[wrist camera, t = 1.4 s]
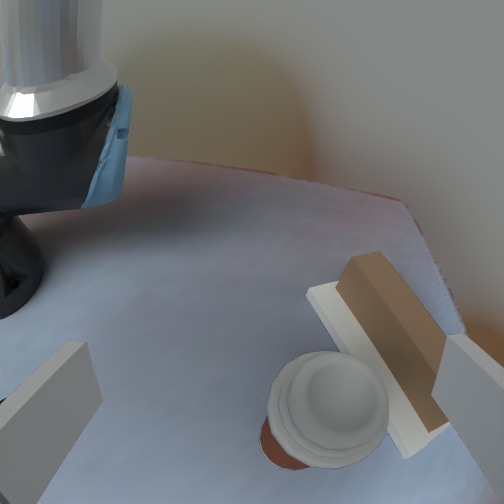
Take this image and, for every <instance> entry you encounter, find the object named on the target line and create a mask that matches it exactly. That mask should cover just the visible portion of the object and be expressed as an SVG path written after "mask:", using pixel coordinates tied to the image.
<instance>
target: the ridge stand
mask: <svg viewBox="0 0 504 504" xmlns="http://www.w3.org/2000/svg"><path fill="white" fill-rule="evenodd" d="M306 297H307V299H308V300H309V302H310V303H311V305H312V307H313V308H314V310H315V311H316V313H317V315H318V316H319V318H320V320H321V321H322V323H323V324H324V326H325V328H326V329H327V331H328V333H329V334H330V336H331V337H332V339H333V341H334V342H335V344H336V346H337V347H338V349H339V351H340V352H341V353H346V354H351V355H355V356H356V357H358V358H360V359H361V360H363V361H365V362H367V363H368V364H370V365H371V366H372V368H373V369H374V370H375V371H376V372H377V373H378V374H379V376H380V377H381V378H382V380H383V382H384V385H385V387H386V390H387V392H388V397H389V425H388V427H387V431H388V433H389V434H390V436H391V438H392V440H393V441H394V443H395V445H396V446H397V448H398V450H399V452H400V453H401V455H402V457H403V459H407V458H409V457H411V456H413V455H414V454H415V453H417V452H418V451H419V450H421V449H422V448H423V447H424V446H426V445H427V444H428V443H429V442H430V441H432V440H433V439H434V438H435V437H436V436H438V435H439V434H440V433H441V432H442V431H443V430H444V429H446V428H447V427H448V426H449V425H450V424H451V423H450V421H449V420H448V418H447V417H446V416H445V414H444V413H443V411H442V410H441V408H440V407H439V406H438V404H437V403H436V401H435V400H434V399H433V397H432V396H431V394H432V391H433V387H434V384H435V381H436V377H437V374H438V370H439V367H440V363H441V359H442V355H443V351H444V347H445V343H446V339H447V337H446V335H445V334H444V332H443V331H442V330H441V328H440V327H439V326H438V324H437V323H436V322H435V320H434V319H433V317H432V316H431V315H430V313H429V312H428V311H427V309H426V308H425V307H424V306H423V304H422V303H421V302H420V300H419V299H418V298H417V296H416V295H415V294H414V293H413V291H412V290H411V289H410V288H409V286H408V285H407V284H406V283H405V281H404V280H403V279H402V278H401V276H400V275H399V274H398V273H397V271H396V270H395V269H394V268H393V267H392V265H391V264H390V263H389V262H388V261H387V259H386V258H385V257H384V256H383V255H382V253H381V252H380V251H379V252H374V253H369V254H365V255H360V256H355V257H351V259H350V261H349V262H348V264H347V266H346V268H345V270H344V272H343V274H342V276H341V278H340V280H339V281H335V282H331V283H327V284H323V285H319V286H315V287H311V288H309V289H308V291H307V294H306Z"/></svg>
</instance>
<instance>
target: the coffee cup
mask: <svg viewBox="0 0 504 504" xmlns="http://www.w3.org/2000/svg"><path fill="white" fill-rule="evenodd" d="M266 412H267V417H266V420H265V422H264V424H263V426H262V428H261V431H260V436H259V444H260V449H261V453H262V454H263V455H264V457H265V458H266V459H267V461H268V462H269V463H271V464H272V465H274V466H276V467H278V468H279V469H283V470H290V471H296V470H300V469H304V468H308V467H316V468H326V469H339V468H342V467H345V466H348V465H351V464H354V463H357V462H360V461H362V460H364V459H365V458H366V457H367V456H368V455H369V454H370V453H371V452H373V451H374V450H375V449H376V448H377V447H378V446H379V445H380V443H381V441H382V439H383V436H384V434H385V432H386V429H387V427H388V425H389V397H388V392H387V390H386V387H385V385H384V382H383V380H382V378H381V377H380V376H379V374H378V373H377V372H376V371H375V370H374V369H373V368H372V366H371V365H370V364H368V363H367V362H365V361H363V360H361V359H360V358H358V357H356V356H355V355H351V354H346V353H341V352H332V351H327V350H326V351H319V352H312V353H305V354H303V355H301V356H300V357H298V358H296V359H294V360H293V361H291V362H289V363H287V364H286V365H285V366H284V367H283V369H282V370H281V371H280V373H279V374H278V376H277V377H276V378H275V380H274V381H273V382H272V384H271V386H270V390H269V395H268V400H267V405H266Z"/></svg>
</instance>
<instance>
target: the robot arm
mask: <svg viewBox="0 0 504 504" xmlns="http://www.w3.org/2000/svg"><path fill="white" fill-rule="evenodd" d="M102 9H103V0H0V36H1V48H2V57H3V66H4V73H5V83H4V85H3V86H2V88H1V90H0V319H1V318H3V317H5V316H7V315H9V314H11V313H13V312H14V311H16V310H17V309H18V308H20V307H21V306H22V305H23V304H24V303H25V302H26V301H27V300H28V299H29V298H30V297H31V296H32V294H33V293H34V291H35V290H36V288H37V286H38V285H39V283H40V280H41V278H42V274H43V269H44V260H43V256H42V253H41V250H40V247H39V244H38V242H37V240H36V238H35V237H34V236H33V234H32V233H31V232H30V231H29V229H28V228H27V227H26V226H25V224H24V223H23V222H22V221H21V219H20V218H19V217H18V215H26V214H34V213H43V212H53V211H62V210H73V209H80V210H81V209H85V208H86V207H90V206H96V205H102V204H108V203H110V202H113V201H114V200H115V199H117V198H118V196H119V195H120V193H121V191H122V188H123V181H124V174H125V165H126V155H127V144H128V133H129V124H130V118H131V108H132V98H133V97H132V96H133V93H132V90H131V88H128V87H124V86H122V85H119V86H118V87H117V71H116V68H115V67H114V66H113V65H112V64H110V63H109V62H108V61H106V60H105V59H104V58H103V57H101V54H100V52H101V24H102ZM431 396H432V397H433V399H434V400H435V401H436V403H437V404H438V406H439V407H440V408H441V410H442V411H443V413H444V414H445V416H446V417H447V418H448V420H449V421H450V423H451V424H452V426H453V427H454V429H455V430H456V432H457V433H458V435H459V436H460V438H461V439H462V441H463V442H464V443H465V445H466V446H467V448H468V450H469V451H470V453H471V454H472V456H473V457H474V459H475V460H476V462H477V463H478V465H479V466H480V468H481V470H482V471H483V473H484V474H485V476H486V477H487V479H488V481H489V482H490V484H491V486H492V487H493V489H494V490H495V492H496V494H497V495H498V497H499V499H500V500H501V502H502V504H504V368H503V367H502V366H500V365H499V364H498V363H497V362H496V361H494V359H492V358H491V357H490V356H489V355H488V354H487V353H486V352H484V351H483V350H482V349H481V348H480V347H479V346H477V345H476V344H475V343H474V342H473V341H472V340H471V339H469V338H468V337H467V336H466V335H465V334H463V333H459V334H453V335H447V339H446V343H445V347H444V351H443V355H442V359H441V363H440V367H439V370H438V374H437V377H436V381H435V384H434V387H433V391H432V394H431ZM102 401H103V398H102V395H101V392H100V389H99V385H98V382H97V379H96V375H95V372H94V368H93V365H92V361H91V357H90V353H89V349H88V345H87V341H82V340H74V339H70V340H69V341H68V342H66V343H65V344H64V345H63V346H62V347H61V348H60V349H59V350H58V351H56V352H55V353H54V354H53V355H52V356H51V357H50V358H49V359H48V360H47V361H45V362H44V363H43V364H42V365H41V366H40V367H39V368H38V369H37V370H36V371H35V372H34V373H33V374H31V375H30V376H29V377H28V378H27V379H26V380H25V381H24V382H23V383H22V384H21V385H20V386H19V387H18V388H17V389H16V390H15V391H14V392H12V393H11V394H10V395H9V396H8V397H7V398H5V399H3V400H1V401H0V502H1V504H37V502H38V500H39V499H40V497H41V496H42V494H43V492H44V491H45V489H46V487H47V486H48V484H49V483H50V481H51V479H52V478H53V476H54V475H55V473H56V472H57V470H58V468H59V467H60V465H61V464H62V462H63V461H64V459H65V457H66V456H67V454H68V453H69V451H70V450H71V448H72V447H73V445H74V443H75V442H76V440H77V439H78V437H79V436H80V434H81V433H82V431H83V430H84V428H85V427H86V425H87V424H88V422H89V421H90V419H91V418H92V416H93V415H94V413H95V412H96V410H97V409H98V407H99V406H100V404H101V403H102Z"/></svg>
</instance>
